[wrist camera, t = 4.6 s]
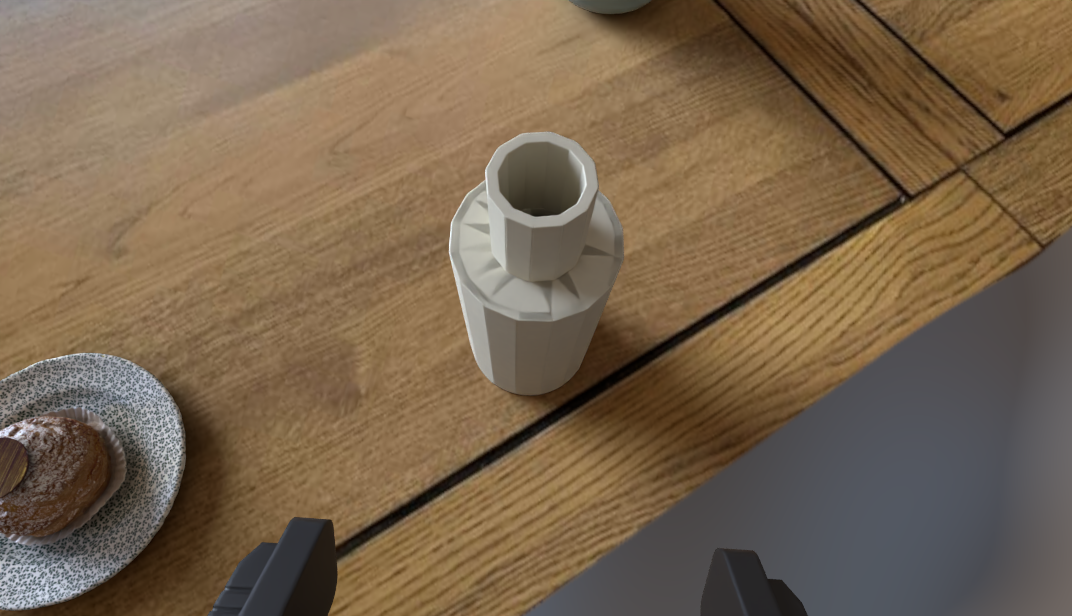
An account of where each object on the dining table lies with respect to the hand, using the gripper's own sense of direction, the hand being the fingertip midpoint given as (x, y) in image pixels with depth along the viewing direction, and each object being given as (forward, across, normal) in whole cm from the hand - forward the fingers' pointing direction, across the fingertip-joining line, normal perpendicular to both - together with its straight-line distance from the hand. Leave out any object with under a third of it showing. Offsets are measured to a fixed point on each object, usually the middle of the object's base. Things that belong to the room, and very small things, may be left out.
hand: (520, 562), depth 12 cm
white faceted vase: (+20, 0, +5) cm, 21 cm away
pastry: (+14, +22, +12) cm, 29 cm away
